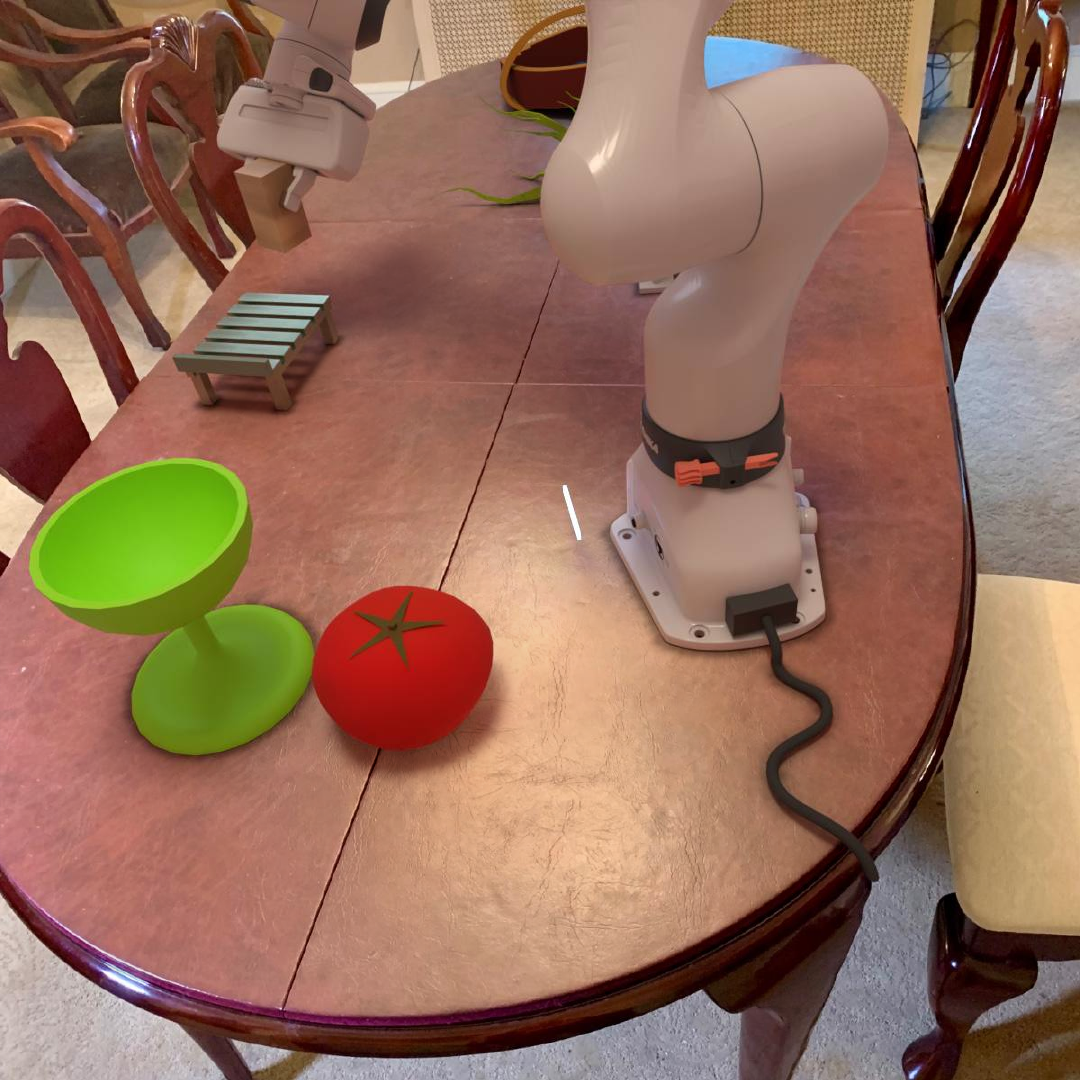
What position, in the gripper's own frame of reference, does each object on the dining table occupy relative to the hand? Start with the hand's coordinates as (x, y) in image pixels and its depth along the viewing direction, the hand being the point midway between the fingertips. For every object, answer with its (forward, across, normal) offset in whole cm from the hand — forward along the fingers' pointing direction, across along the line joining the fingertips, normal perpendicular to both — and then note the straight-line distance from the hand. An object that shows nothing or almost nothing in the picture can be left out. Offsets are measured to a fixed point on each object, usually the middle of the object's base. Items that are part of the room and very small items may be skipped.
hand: (269, 205), depth 108 cm
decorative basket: (-47, -11, +73) cm, 87 cm away
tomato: (+39, +48, -13) cm, 64 cm away
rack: (+18, 0, +8) cm, 20 cm away
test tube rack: (-14, +28, +40) cm, 51 cm away
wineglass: (+44, +32, -18) cm, 57 cm away
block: (+3, 0, +4) cm, 5 cm away
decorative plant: (-19, +5, +45) cm, 49 cm away
